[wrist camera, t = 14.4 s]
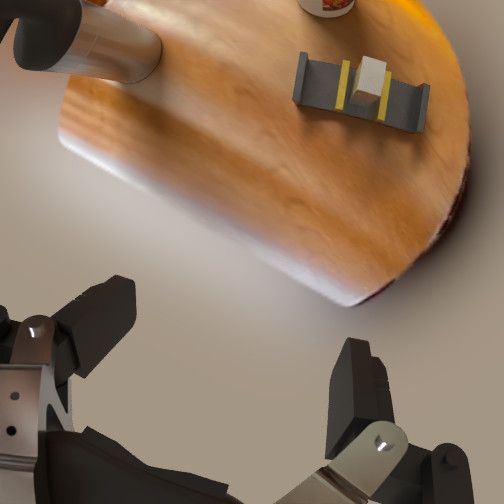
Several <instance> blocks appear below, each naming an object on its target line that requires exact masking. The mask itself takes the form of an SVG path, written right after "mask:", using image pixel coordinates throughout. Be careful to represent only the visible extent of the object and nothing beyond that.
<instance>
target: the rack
mask: <svg viewBox="0 0 504 504" xmlns="http://www.w3.org/2000/svg"><path fill="white" fill-rule="evenodd" d="M349 66H350V61H348V60H343V62H342V66H340V65H335V64H330V63H325V62H320V61H314V60H309V59H308V53H306V52H300V56H299V63H298V69H297V75H296V81H295V87H294V92H293V98H292V100H293V102H294V103H295V105H300V106H306V107H311V108H316V109H321V110H326V111H330V112H335V113H339V114H344V115H348V116H352V117H356V118H360V119H364V120H368V121H371V122H375V123H378V124H382V125H385V126H389V127H392V128H395V129H399V130H402V131H405V132H408V133H411V134H416V133H423V131H424V125H425V119H426V113H427V106H428V98H429V90H430V85H428V84H425V83H423V84H421V85H419V86H417V87H415V86H412V85H409V84H406V83H403V82H400V81H397V80H393V79H391V73H392V72H389V71H386V70H385V76H384V81H383V87H382V92H381V96H380V97H379V98H378V99H377V100H375V101H374V102H373V103H371V104H370V105H369V106H367V107H366V108H365V107H361V106H358V105H354V104H351V103H348V100H349V96H350V91H351V85H352V80H353V76H354V74H355V72H356V70H357V69H353V68H349Z"/></svg>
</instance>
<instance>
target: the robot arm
mask: <svg viewBox="0 0 504 504" xmlns="http://www.w3.org/2000/svg"><path fill="white" fill-rule="evenodd" d="M16 18H19V22H18V26H17V30H16V34H15V39H14V48H13V49H14V57H15V60H16V63H17V64H18V65H19V67H21V68H23V69H26V70H32V71H45V72H56V73H66V74H74V75H81V76H88V77H95V78H101V79H107V80H112V81H118V82H123V83H135V82H138V81H140V80H142V79H144V78H145V77H147V76H148V75H149V74H150V73H151V72H152V71H153V70H154V68H155V67H156V65H157V63H158V61H159V59H160V56H161V50H162V46H161V41H160V38H159V36H158V35H157V34H156V33H155V32H154V31H152V30H150V29H148V28H146V27H144V26H142V25H140V24H138V23H136V22H134V21H132V20H130V19H128V18H126V17H124V16H121V15H119V14H117V13H115V12H113V11H110V10H108V9H106V8H103V7H101V6H99V5H96V4H94V3H91V2H88V1H86V0H0V43H1V41H2V39H3V38H4V36H5V34H6V32H7V30H8V29H9V27H10V26H11V24H12V22H13V21H14V19H16ZM136 315H137V313H136V289H135V282H134V281H133V280H131V279H128V278H125V277H122V276H119V275H114V276H113V277H111V278H110V279H108V280H107V281H106V282H104V283H101V284H98V285H95V286H92V287H90V288H89V289H87V290H86V291H85V292H83V293H82V295H79V296H78V297H77V298H75V300H72V301H71V302H70V303H68V304H67V305H66V306H64V307H63V308H62V309H60V310H59V311H58V312H56V313H55V314H54V315H53V316H51V317H48V316H44V315H35V316H31V317H29V318H27V319H25V320H24V321H23V322H18V321H14V320H10V319H9V316H8V312H7V309H6V308H5V307H4V306H2V305H0V504H244V503H242V502H241V501H239V500H238V499H236V498H235V497H233V496H231V495H229V494H227V489H228V486H229V485H228V484H224V483H221V482H217V481H213V480H210V479H207V478H204V477H201V476H198V475H195V474H192V473H187V472H180V471H174V470H167V469H162V468H156V467H151V466H148V465H146V464H144V463H143V462H142V461H140V460H139V459H138V458H136V457H135V456H134V455H132V454H131V453H130V452H129V451H127V450H126V449H125V448H124V447H122V446H121V445H120V444H119V443H118V442H116V441H114V440H112V439H110V438H108V437H106V436H104V435H103V434H101V433H99V432H97V431H95V430H94V429H91V428H90V427H88V426H87V427H86V428H85V429H84V431H83V432H82V433H78V432H75V431H74V428H73V423H72V404H71V379H70V376H71V375H72V374H73V373H75V374H77V375H79V376H80V377H82V378H84V379H85V378H86V377H87V376H88V374H89V373H90V372H91V371H92V370H93V369H94V368H95V367H96V366H97V365H98V364H99V362H100V361H101V360H102V359H103V358H104V357H105V356H106V355H107V354H108V353H109V352H110V351H111V349H112V348H113V347H114V346H115V345H116V344H117V343H118V342H119V341H120V340H121V339H122V338H123V337H124V336H125V335H126V333H128V331H130V329H131V328H132V327H133V325H134V323H135V320H136ZM325 452H326V453H325V459H330V460H332V461H331V462H330V463H329V464H328V465H327V466H325V467H321V468H320V469H318V470H317V471H316V472H314V473H313V474H312V475H311V476H310V477H308V478H307V479H306V480H305V481H303V482H302V483H301V484H299V485H298V486H297V487H296V488H294V489H293V490H292V491H290V492H289V493H288V494H286V495H285V496H283V497H282V498H281V499H279V500H278V501H277V502H275V503H274V504H367V503H368V501H367V500H368V499H369V500H372V501H375V502H378V503H381V504H474V497H473V489H472V482H471V475H470V469H469V463H468V458H467V456H466V454H465V453H464V451H463V450H462V449H461V448H459V447H458V446H457V445H454V444H451V443H443V444H440V445H438V446H437V447H436V448H435V449H434V450H433V451H430V450H427V449H423V448H420V447H418V446H414V445H412V444H410V443H408V439H407V436H406V434H405V432H404V431H403V430H402V429H401V428H400V427H399V426H397V425H396V424H395V421H394V413H393V406H392V400H391V394H390V391H389V382H388V376H387V371H386V368H385V366H384V365H383V363H382V361H381V360H380V359H379V358H378V357H373V356H371V352H370V346H369V342H368V341H365V340H360V339H355V338H350V337H348V338H347V339H346V341H345V343H344V346H343V348H342V350H341V353H340V355H339V357H338V360H337V362H336V364H335V367H334V369H333V372H332V375H331V379H330V387H329V409H328V425H327V439H326V451H325Z"/></svg>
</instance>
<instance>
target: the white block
mask: <svg viewBox="0 0 504 504" xmlns="http://www.w3.org/2000/svg"><path fill="white" fill-rule="evenodd" d="M386 64H387V63H386V62H383V61H380V60H377V59H373V58H370V57H367V56H363V58H362V60H361V62H360V64H359V66H358V68H357V70H356V72H355V74H354V76H353V80H352V85H351V91H350V96H349V100H348V103H351V104H354V105H358V106H361V107H365V108H366V107H367V106H369V105H370V104H371V103H373V102H374V101H375V100H377V99H378V98H379V97H380V96H381V92H382V87H383V81H384V76H385V70H386Z"/></svg>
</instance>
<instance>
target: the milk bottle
mask: <svg viewBox="0 0 504 504" xmlns="http://www.w3.org/2000/svg"><path fill="white" fill-rule="evenodd" d="M297 1H298V3H299V4H300V6H301V7H302V8H303V9H305V10H306V11H307V12H309V13H311V14H313V15H316V16H319V17H326V18H331V17H338V16H341V15H343V14H345V13H347V12H348V11H349V10H350V9H351V8H352V6H353V4H354V1H355V0H297Z"/></svg>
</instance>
